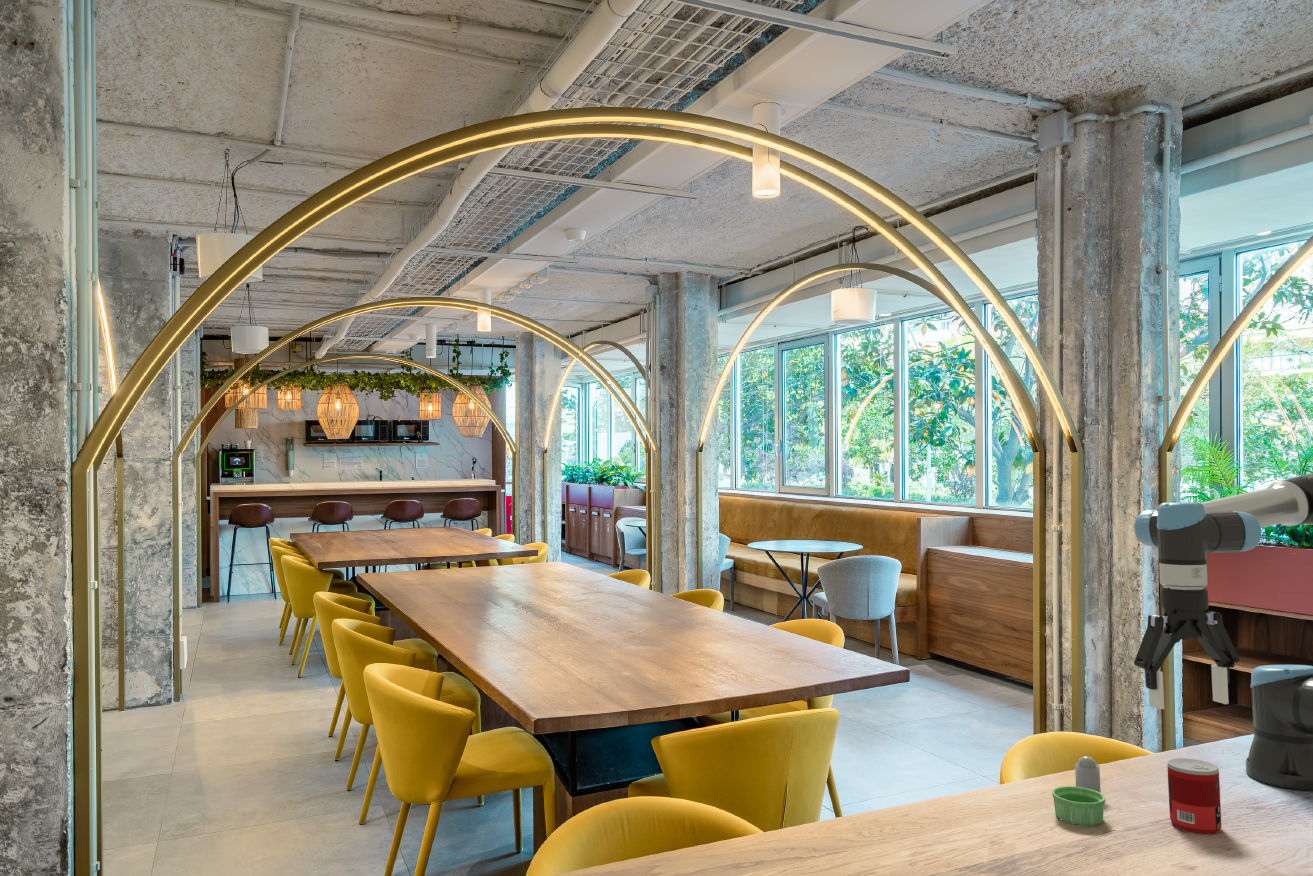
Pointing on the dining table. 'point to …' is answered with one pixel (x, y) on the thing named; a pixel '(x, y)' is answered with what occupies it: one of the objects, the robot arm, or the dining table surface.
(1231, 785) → the dining table surface
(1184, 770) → the canned food
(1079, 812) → the ramekin
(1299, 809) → the dining table surface
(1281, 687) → the robot arm
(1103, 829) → the dining table surface
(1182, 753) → the dining table surface
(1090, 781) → the pepper pot
